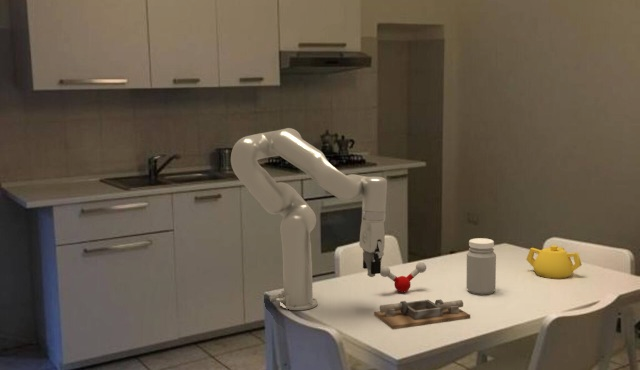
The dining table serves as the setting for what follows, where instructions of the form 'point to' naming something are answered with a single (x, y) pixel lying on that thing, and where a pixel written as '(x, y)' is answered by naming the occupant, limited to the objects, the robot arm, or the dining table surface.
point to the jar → (481, 266)
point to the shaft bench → (420, 313)
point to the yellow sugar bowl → (553, 262)
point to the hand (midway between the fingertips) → (371, 270)
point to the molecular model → (403, 277)
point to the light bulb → (368, 261)
